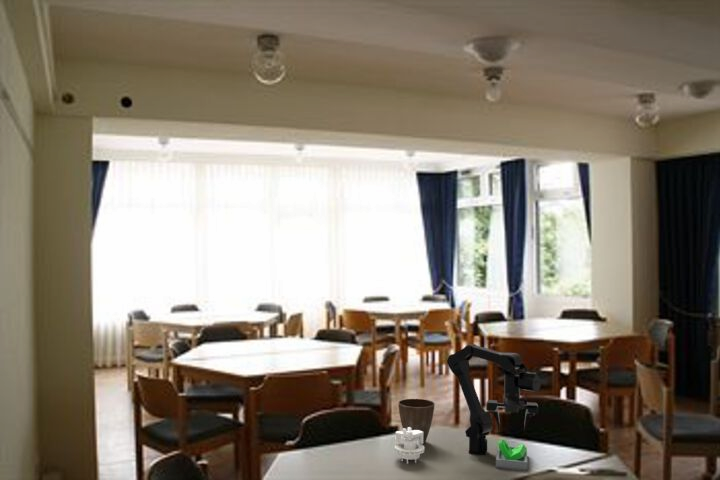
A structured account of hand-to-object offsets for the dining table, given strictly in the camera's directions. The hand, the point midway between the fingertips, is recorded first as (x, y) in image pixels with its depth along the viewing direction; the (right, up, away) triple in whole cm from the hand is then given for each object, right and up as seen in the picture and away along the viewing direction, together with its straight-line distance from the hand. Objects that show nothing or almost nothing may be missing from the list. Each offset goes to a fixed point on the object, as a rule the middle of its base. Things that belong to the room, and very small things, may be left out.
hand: (511, 429), depth 237 cm
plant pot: (-34, -12, +23) cm, 42 cm away
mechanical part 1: (-38, -12, 0) cm, 40 cm away
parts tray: (0, -12, 0) cm, 12 cm away
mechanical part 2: (+2, -10, 0) cm, 10 cm away
